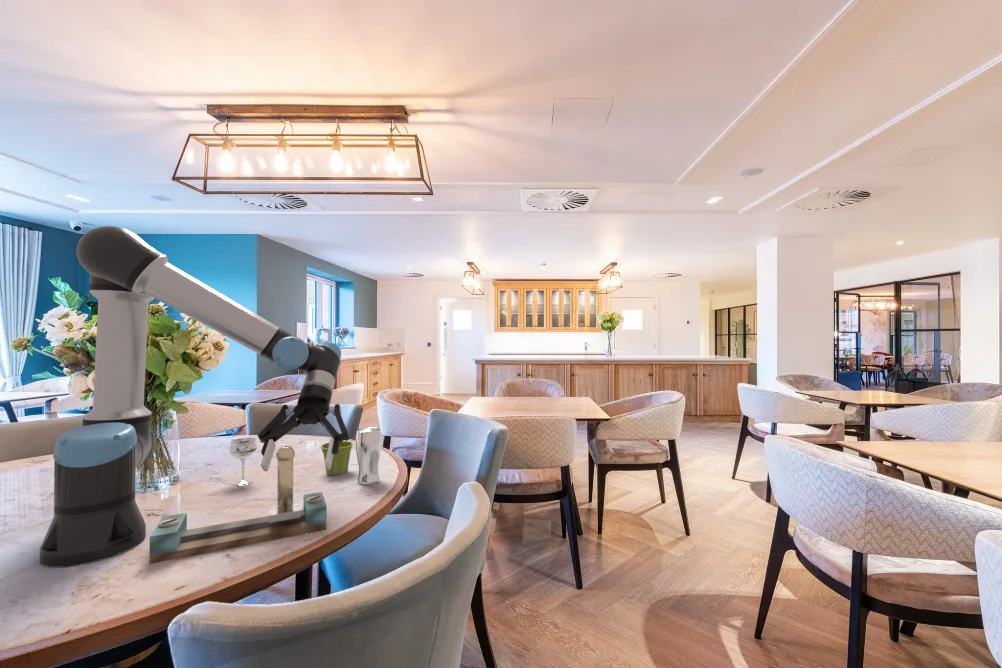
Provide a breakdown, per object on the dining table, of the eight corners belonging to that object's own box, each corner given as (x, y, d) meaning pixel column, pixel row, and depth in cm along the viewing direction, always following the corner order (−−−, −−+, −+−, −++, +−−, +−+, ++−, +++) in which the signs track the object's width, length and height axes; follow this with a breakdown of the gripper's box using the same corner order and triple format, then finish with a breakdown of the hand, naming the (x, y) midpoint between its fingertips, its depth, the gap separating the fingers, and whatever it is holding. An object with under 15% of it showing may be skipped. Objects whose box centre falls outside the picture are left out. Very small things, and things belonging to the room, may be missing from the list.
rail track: (149, 564, 78) (149, 533, 78) (162, 541, 86) (162, 513, 86) (326, 529, 92) (326, 503, 92) (322, 513, 100) (322, 489, 100)
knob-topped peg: (269, 523, 88) (269, 449, 89) (269, 514, 93) (269, 444, 93) (300, 517, 91) (301, 446, 91) (299, 509, 96) (300, 441, 96)
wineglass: (226, 482, 122) (227, 440, 122) (253, 477, 127) (253, 436, 127) (231, 488, 117) (231, 444, 117) (259, 482, 122) (259, 440, 122)
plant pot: (338, 479, 125) (338, 449, 125) (313, 475, 128) (313, 446, 128) (359, 470, 134) (359, 442, 134) (335, 466, 137) (335, 439, 137)
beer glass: (365, 487, 118) (365, 433, 118) (350, 482, 122) (351, 429, 122) (386, 480, 124) (386, 428, 124) (371, 476, 128) (371, 426, 128)
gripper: (368, 400, 115) (355, 473, 100) (270, 401, 112) (242, 477, 97) (364, 382, 110) (350, 457, 95) (261, 383, 107) (230, 460, 92)
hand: (296, 467), depth 96 cm, fingers open, 13 cm apart
